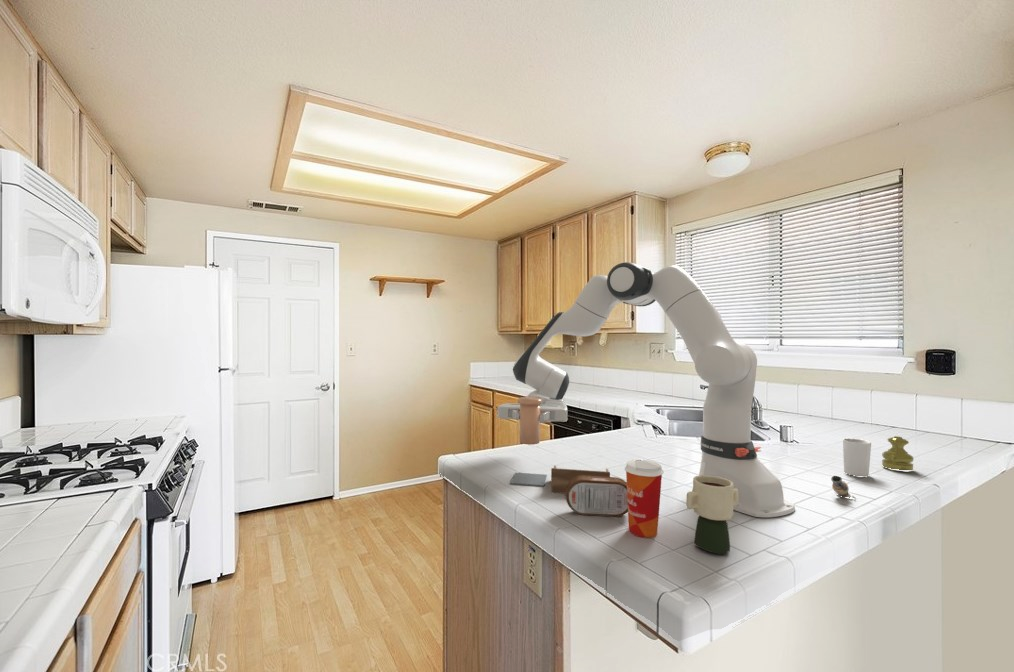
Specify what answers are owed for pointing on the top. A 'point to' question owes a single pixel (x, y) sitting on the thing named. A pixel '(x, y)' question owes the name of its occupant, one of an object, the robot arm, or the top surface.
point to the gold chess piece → (897, 455)
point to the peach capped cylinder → (529, 420)
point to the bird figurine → (840, 487)
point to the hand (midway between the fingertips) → (529, 417)
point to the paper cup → (643, 496)
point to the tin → (597, 496)
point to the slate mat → (529, 479)
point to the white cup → (856, 456)
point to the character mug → (712, 511)
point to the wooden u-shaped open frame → (570, 477)
